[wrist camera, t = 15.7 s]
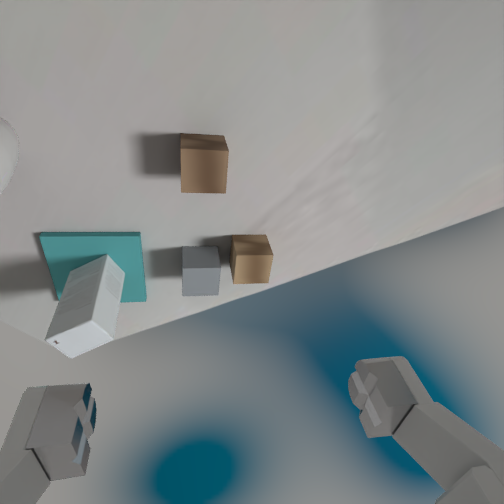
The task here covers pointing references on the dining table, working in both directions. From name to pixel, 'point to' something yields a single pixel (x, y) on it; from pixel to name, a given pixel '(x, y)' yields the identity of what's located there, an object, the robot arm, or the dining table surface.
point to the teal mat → (96, 257)
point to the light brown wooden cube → (250, 259)
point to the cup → (7, 153)
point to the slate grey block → (200, 270)
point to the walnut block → (203, 163)
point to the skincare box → (87, 308)
